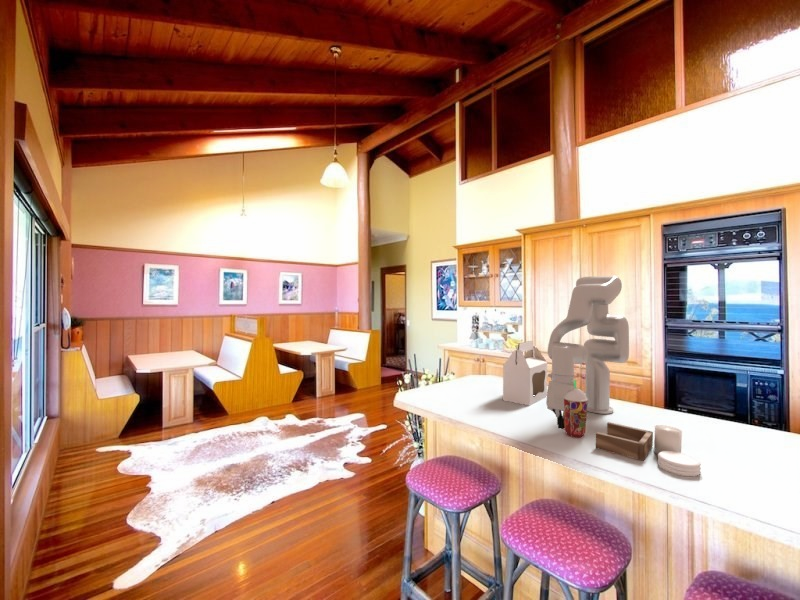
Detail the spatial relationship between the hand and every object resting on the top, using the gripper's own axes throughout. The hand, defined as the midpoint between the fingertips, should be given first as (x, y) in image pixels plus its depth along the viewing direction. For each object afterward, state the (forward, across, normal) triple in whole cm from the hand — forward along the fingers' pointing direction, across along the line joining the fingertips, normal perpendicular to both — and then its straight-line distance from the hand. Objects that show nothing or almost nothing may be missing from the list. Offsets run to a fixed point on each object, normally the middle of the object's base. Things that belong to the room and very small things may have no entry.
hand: (561, 427), depth 137 cm
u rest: (+2, +20, 0) cm, 20 cm away
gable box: (+2, -30, +33) cm, 45 cm away
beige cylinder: (+1, +31, +5) cm, 32 cm away
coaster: (+2, +36, -5) cm, 36 cm away
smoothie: (+2, +5, 0) cm, 5 cm away
